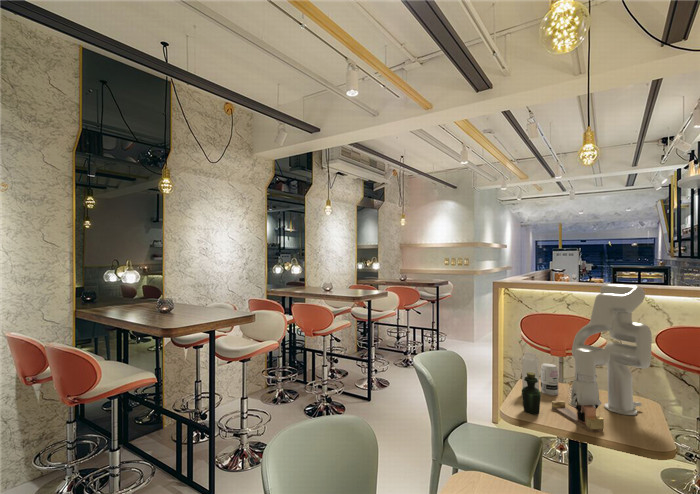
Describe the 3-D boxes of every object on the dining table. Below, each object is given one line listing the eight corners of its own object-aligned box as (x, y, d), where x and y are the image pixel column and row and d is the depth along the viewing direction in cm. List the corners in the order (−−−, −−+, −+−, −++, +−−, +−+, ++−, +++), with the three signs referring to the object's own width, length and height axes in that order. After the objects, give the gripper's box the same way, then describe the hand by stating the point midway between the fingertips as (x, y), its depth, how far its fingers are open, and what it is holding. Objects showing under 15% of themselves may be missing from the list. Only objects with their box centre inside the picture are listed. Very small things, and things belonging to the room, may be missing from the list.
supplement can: (544, 389, 196) (544, 361, 196) (560, 393, 189) (560, 365, 190) (538, 392, 191) (537, 364, 191) (554, 397, 184) (554, 368, 185)
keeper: (585, 418, 156) (584, 402, 156) (596, 424, 150) (595, 408, 150) (576, 418, 155) (576, 402, 156) (587, 425, 149) (587, 408, 150)
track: (563, 408, 170) (563, 400, 170) (603, 431, 148) (603, 422, 148) (552, 408, 170) (551, 401, 170) (590, 431, 147) (590, 423, 147)
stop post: (599, 425, 150) (598, 416, 150) (603, 428, 147) (603, 418, 147) (586, 426, 149) (586, 416, 149) (590, 429, 146) (590, 419, 147)
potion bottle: (518, 410, 168) (517, 371, 169) (530, 407, 171) (529, 369, 172) (532, 417, 161) (532, 377, 161) (545, 414, 164) (544, 374, 164)
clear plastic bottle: (533, 397, 184) (533, 354, 185) (522, 393, 189) (521, 352, 190) (539, 394, 188) (538, 352, 189) (527, 390, 193) (527, 350, 194)
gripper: (595, 374, 158) (596, 415, 157) (561, 375, 156) (562, 417, 155) (609, 379, 151) (611, 423, 150) (574, 381, 149) (575, 425, 148)
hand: (586, 419), depth 153 cm, fingers closed on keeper, 4 cm apart
